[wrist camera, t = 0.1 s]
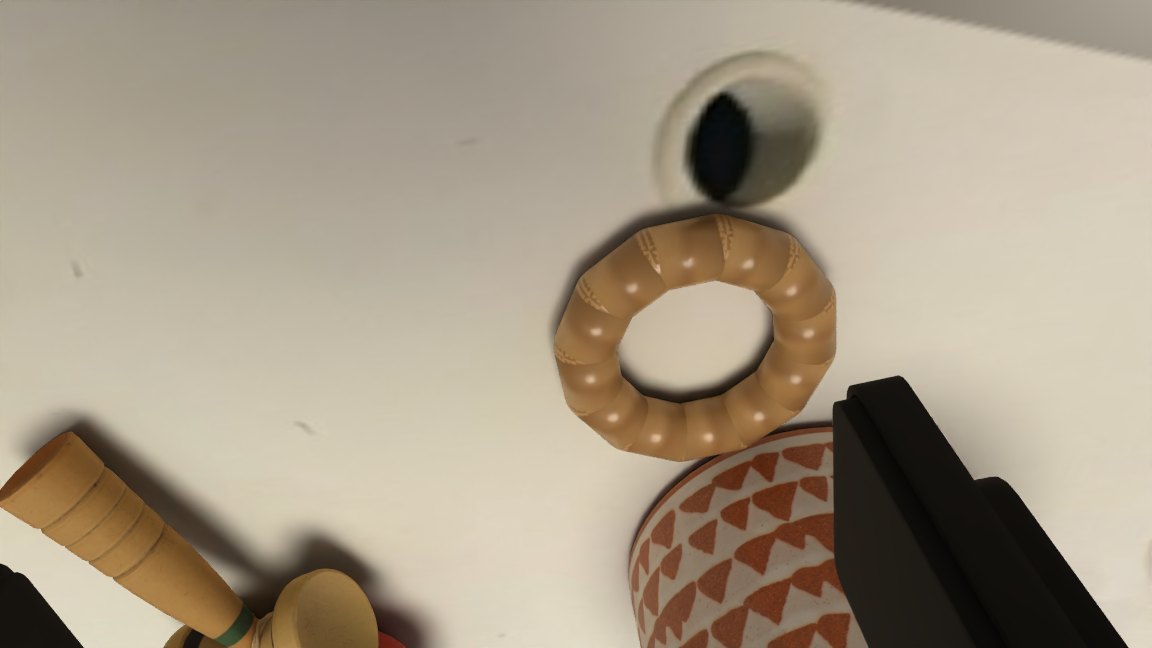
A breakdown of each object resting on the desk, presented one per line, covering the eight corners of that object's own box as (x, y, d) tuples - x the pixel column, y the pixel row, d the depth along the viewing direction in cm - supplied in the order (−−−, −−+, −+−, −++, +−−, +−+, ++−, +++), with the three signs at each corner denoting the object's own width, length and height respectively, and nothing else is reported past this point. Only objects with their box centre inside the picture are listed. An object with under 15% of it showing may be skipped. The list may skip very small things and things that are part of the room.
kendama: (-17, 481, 32) (329, 747, 39) (-109, 593, 26) (317, 882, 33) (147, 351, 31) (469, 646, 39) (91, 437, 26) (481, 765, 33)
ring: (529, 239, 28) (534, 273, 26) (822, 179, 28) (845, 208, 26) (579, 455, 33) (586, 494, 31) (825, 404, 33) (845, 440, 31)
